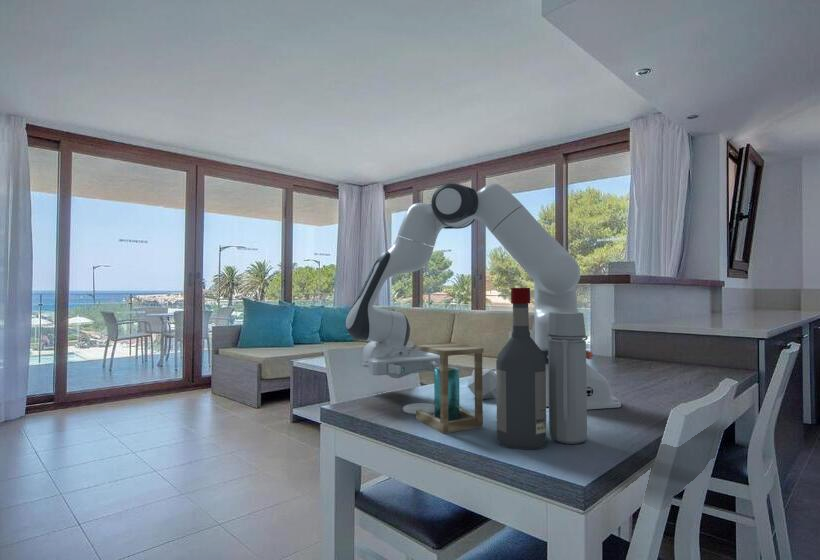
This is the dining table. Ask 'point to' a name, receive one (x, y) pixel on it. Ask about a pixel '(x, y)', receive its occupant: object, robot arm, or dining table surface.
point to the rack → (466, 417)
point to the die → (485, 384)
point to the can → (452, 393)
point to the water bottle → (567, 377)
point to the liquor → (521, 383)
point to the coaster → (419, 408)
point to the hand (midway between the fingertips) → (419, 369)
